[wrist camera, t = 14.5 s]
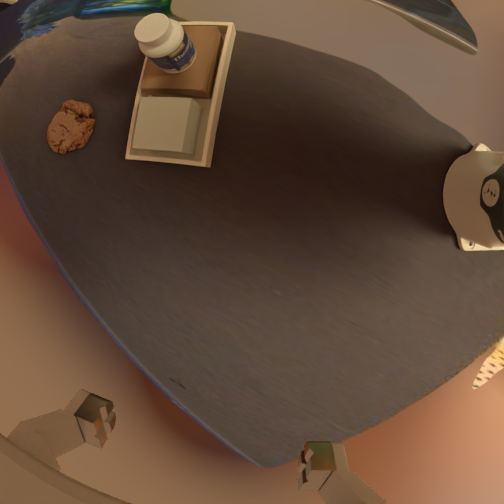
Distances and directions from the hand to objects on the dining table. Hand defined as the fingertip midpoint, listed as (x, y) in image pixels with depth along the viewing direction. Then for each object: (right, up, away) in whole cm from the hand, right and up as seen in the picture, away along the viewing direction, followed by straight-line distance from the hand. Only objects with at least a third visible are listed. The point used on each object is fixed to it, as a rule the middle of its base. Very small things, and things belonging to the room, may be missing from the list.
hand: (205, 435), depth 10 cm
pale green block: (-9, +25, +29) cm, 39 cm away
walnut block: (-8, +34, +26) cm, 44 cm away
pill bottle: (-8, +33, +22) cm, 40 cm away
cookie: (-29, +29, +30) cm, 51 cm away
